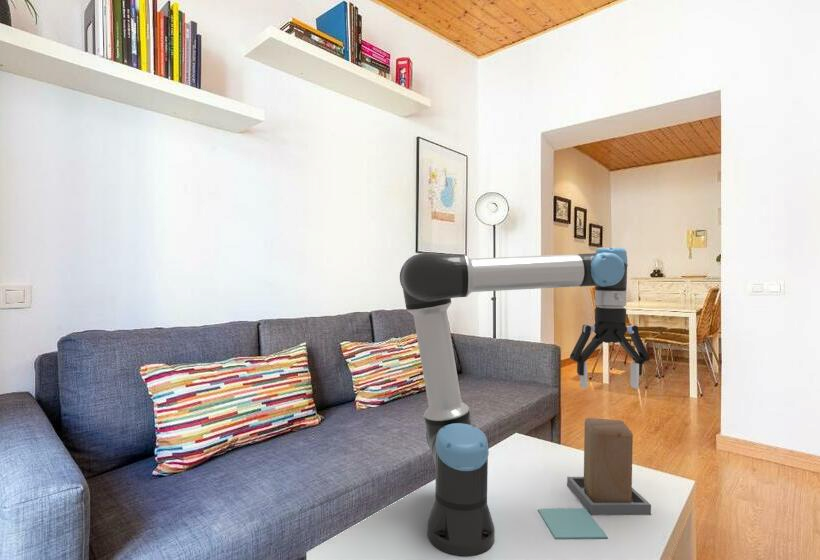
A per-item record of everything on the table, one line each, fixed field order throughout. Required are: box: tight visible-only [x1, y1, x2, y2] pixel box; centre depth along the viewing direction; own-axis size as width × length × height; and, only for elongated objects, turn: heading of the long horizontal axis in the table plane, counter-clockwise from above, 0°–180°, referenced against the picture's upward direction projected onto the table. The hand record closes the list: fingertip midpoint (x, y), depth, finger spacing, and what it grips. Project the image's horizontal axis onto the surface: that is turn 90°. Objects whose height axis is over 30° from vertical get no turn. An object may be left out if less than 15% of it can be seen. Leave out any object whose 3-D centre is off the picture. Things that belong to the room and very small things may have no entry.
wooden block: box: [583, 417, 634, 503], centre depth 116 cm, size 10×10×20 cm
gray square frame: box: [566, 476, 652, 516], centre depth 116 cm, size 15×15×2 cm
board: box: [537, 507, 609, 540], centre depth 105 cm, size 12×12×1 cm
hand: (609, 387), depth 116 cm, fingers open, 13 cm apart
